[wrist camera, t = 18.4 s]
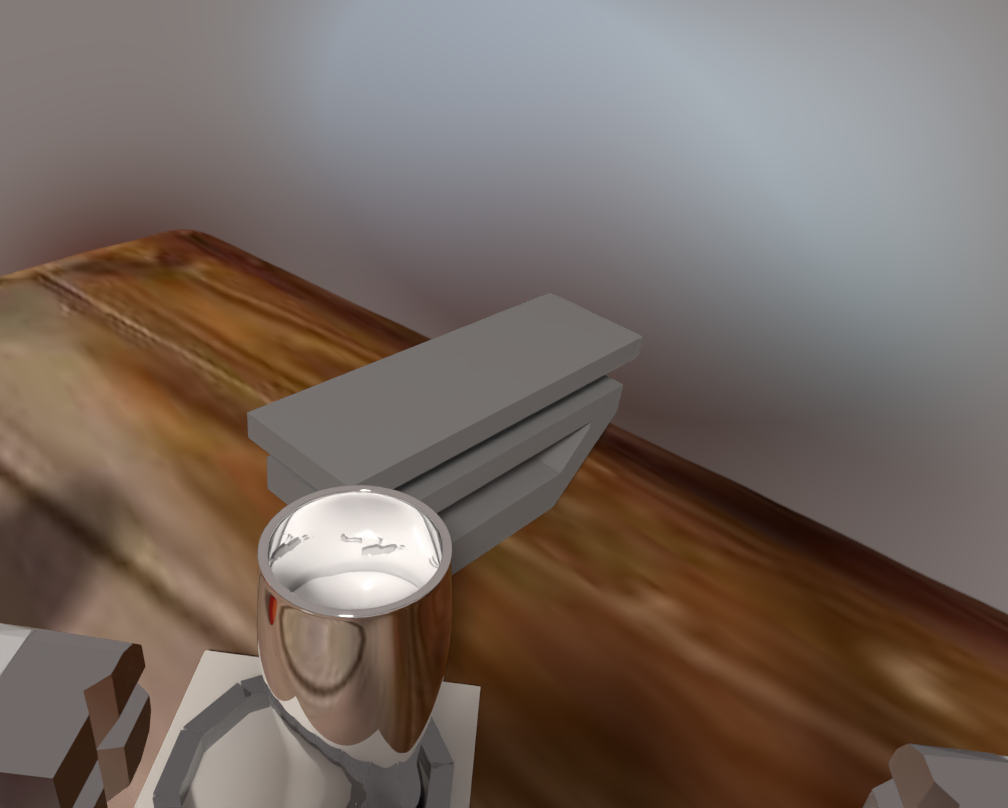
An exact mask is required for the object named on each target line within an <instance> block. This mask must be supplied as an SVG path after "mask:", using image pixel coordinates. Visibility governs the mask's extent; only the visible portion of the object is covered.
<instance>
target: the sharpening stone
mask: <svg viewBox="0 0 1008 808" xmlns="http://www.w3.org/2000/svg"><path fill="white" fill-rule="evenodd" d="M642 339H643V336H641V335H639V334H637V333H635V332H632V331H630V330H628V329H626V328H624V327H622V326H620V325H618V324H616V323H614V322H612V321H609V320H607V319H605V318H603V317H601V316H599V315H597V314H595V313H593V312H591V311H589V310H586V309H584V308H582V307H580V306H578V305H576V304H574V303H572V302H570V301H568V300H566V299H563V298H561V297H559V296H557V295H555V294H553V293H548V294H546V295H543V296H541V297H538V298H536V299H533V300H531V301H528V302H526V303H523V304H520V305H518V306H516V307H513V308H510V309H508V310H506V311H503V312H500V313H498V314H495V315H493V316H490V317H488V318H485V319H483V320H480V321H478V322H475V323H473V324H470V325H467V326H465V327H462V328H460V329H457V330H455V331H452V332H450V333H447V334H445V335H442V336H440V337H437V338H434V339H432V340H429V341H427V342H424V343H422V344H419V345H417V346H414V347H412V348H409V349H407V350H404V351H402V352H399V353H397V354H394V355H392V356H389V357H386V358H384V359H381V360H379V361H376V362H374V363H371V364H369V365H366V366H364V367H361V368H359V369H356V370H354V371H351V372H349V373H346V374H344V375H341V376H338V377H336V378H333V379H331V380H328V381H326V382H323V383H321V384H318V385H316V386H313V387H311V388H308V389H306V390H303V391H301V392H298V393H296V394H293V395H290V396H288V397H285V398H283V399H280V400H278V401H275V402H273V403H270V404H268V405H265V406H263V407H260V408H258V409H255V410H253V411H250V412H248V413H247V416H248V438H250V439H251V440H252V441H254V442H255V443H256V444H258V445H259V446H260V447H261V448H263V449H264V450H265V451H267V452H268V453H269V454H271V455H270V456H268V457H267V482H268V489H269V490H270V491H271V492H273V493H274V494H275V495H276V496H278V497H279V498H280V499H281V500H283V501H284V502H285V503H286V504H288V505H289V504H290V503H292V502H294V501H295V500H297V499H299V498H301V497H303V496H306V495H308V494H311V493H314V492H317V491H320V490H324V489H328V488H333V487H339V486H349V485H368V486H378V487H384V488H389V489H393V490H396V491H400V492H403V493H405V494H408V495H410V496H412V497H414V498H416V499H418V500H420V501H422V502H423V503H425V504H426V505H427V506H429V507H430V508H431V509H432V510H434V511H435V512H436V513H437V514H438V516H439V517H440V518H441V519H442V520H443V522H444V523H445V525H446V527H447V529H448V531H449V533H450V536H451V540H452V559H451V571H452V575H453V574H455V573H456V572H458V571H459V570H461V569H462V568H463V567H465V566H466V565H468V564H469V563H471V562H472V561H474V560H475V559H477V558H478V557H480V556H481V555H483V554H484V553H486V552H487V551H489V550H490V549H492V548H493V547H495V546H496V545H497V544H499V543H500V542H502V541H503V540H505V539H506V538H508V537H509V536H511V535H512V534H514V533H515V532H517V531H518V530H520V529H521V528H523V527H524V526H526V525H527V524H528V523H530V522H531V521H533V520H534V519H536V518H537V517H539V516H540V515H542V514H543V513H545V512H546V511H548V510H549V509H551V508H552V507H554V505H555V504H556V502H557V501H558V499H559V498H560V496H561V495H562V493H563V492H564V490H565V489H566V487H567V486H568V484H569V483H570V481H571V480H572V478H573V477H574V475H575V474H576V472H577V471H578V469H579V468H580V466H581V464H582V463H583V461H584V460H585V458H586V457H587V455H588V454H589V452H590V451H591V449H592V448H593V446H594V445H595V443H596V442H597V440H598V439H599V437H600V436H601V434H602V433H603V431H604V430H605V428H606V427H607V425H608V424H609V422H610V421H611V419H612V418H613V416H614V415H615V413H616V412H617V409H618V404H619V400H620V396H621V392H622V388H623V384H621V383H619V382H617V381H615V380H613V379H612V378H610V377H608V376H606V375H605V374H607V373H609V372H611V371H613V370H615V369H616V368H618V367H620V366H622V365H624V364H625V363H627V362H629V361H631V360H633V359H635V358H637V357H638V355H639V351H640V347H641V343H642Z"/></svg>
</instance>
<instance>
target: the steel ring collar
mask: <svg viewBox="0 0 1008 808" xmlns="http://www.w3.org/2000/svg"><path fill="white" fill-rule="evenodd" d="M240 682H241V685H240V684H238V683H236V684H235V685H234V686H232V687H231V688H230V689H229V690H228V691H226V692H225V693H224V694H223V695H221V696H220V697H219V698H218V699H217V700H215V701H214V702H213V703H212V704H210V705H209V706H208V707H207V708H205V709H204V710H203V711H202V712H201V713H199V714H198V715H197V716H196V717H194V718H193V719H192V720H191V721H190V722H188V723H187V724H186V725H185V726H183V730H181V731H180V733H179V735H178V737H177V740H176V742H175V744H174V747H173V749H172V751H171V753H170V756H169V758H168V760H167V763H166V765H165V767H164V769H163V772H162V774H161V776H160V779H159V781H158V783H157V785H156V788H155V790H154V792H153V797H152V799H153V805H154V808H182V806H183V803H184V801H185V798H186V796H187V793H188V791H189V788H190V786H191V783H192V781H193V778H194V776H195V773H196V771H197V768H198V766H199V763H200V761H201V758H202V756H203V753H204V752H205V751H206V750H208V749H209V748H210V747H211V746H212V745H213V744H215V743H216V742H217V741H218V740H219V739H220V738H221V737H223V736H224V735H225V734H226V733H227V732H228V731H230V730H231V729H232V728H233V727H234V726H235V725H237V724H238V723H239V722H240V721H241V720H242V719H243V718H245V717H246V716H247V715H248V714H249V713H251V712H254V711H258V710H261V709H264V708H268V707H270V704H269V700H268V696H267V693H266V689H265V685H264V682H263V678H262V675H260V676H256V677H253V678H249V679H245V680H242V681H240ZM419 760H420V763H421V765H422V767H423V769H424V771H425V774H426V776H427V778H428V780H429V788H428V795H427V802H426V808H450V799H451V790H452V782H453V773H454V765H453V764H454V761H453V759H452V757H451V755H450V753H449V751H448V749H447V747H446V745H445V743H444V741H443V739H442V737H441V735H440V733H439V731H438V728H437V726H436V724H435V722H434V720H433V718H432V716H431V719H430V722H429V724H428V727H427V730H426V732H425V735H424V738H423V741H422V744H421V747H420V752H419Z"/></svg>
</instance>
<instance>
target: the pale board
mask: <svg viewBox="0 0 1008 808" xmlns="http://www.w3.org/2000/svg"><path fill="white" fill-rule="evenodd" d="M260 675H262V673H261V666H260V659H259V657H253V656H245V655H237V654H230V653H222V652H215V651H207V650H205V652H204V654H203V656H202V658H201V660H200V663H199V665H198V667H197V669H196V671H195V674H194V676H193V678H192V680H191V683H190V685H189V687H188V689H187V691H186V694H185V696H184V698H183V700H182V702H181V705H180V707H179V709H178V711H177V714H176V716H175V718H174V720H173V722H172V725H171V727H170V729H169V731H168V734H167V736H166V738H165V740H164V742H163V745H162V747H161V749H160V751H159V753H158V756H157V758H156V760H155V762H154V765H153V767H152V769H151V771H150V773H149V776H148V778H147V780H146V782H145V784H144V787H143V789H142V791H141V793H140V796H139V798H138V800H137V802H136V804H135V807H134V808H154V805H153V799H152V797H153V792H154V790H155V788H156V785H157V783H158V781H159V779H160V776H161V774H162V772H163V769H164V767H165V765H166V763H167V760H168V758H169V756H170V753H171V751H172V749H173V747H174V744H175V742H176V740H177V737H178V735H179V733H180V731H181V730H183V726H185V725H186V724H187V723H188V722H190V721H191V720H192V719H193V718H194V717H196V716H197V715H198V714H199V713H201V712H202V711H203V710H204V709H205V708H207V707H208V706H209V705H210V704H212V703H213V702H214V701H215V700H217V699H218V698H219V697H220V696H221V695H223V694H224V693H225V692H226V691H228V690H229V689H230V688H231V687H232V686H234V685H235V684H236V683H238V684H240V685H241V682H240V681H242V680H245V679H249V678H253V677H256V676H260ZM479 698H480V686H473V685H465V684H457V683H450V682H442V685H441V689H440V693H439V696H438V699H437V702H436V705H435V708H434V710H433V713H432V718H433V720H434V722H435V724H436V726H437V728H438V731H439V733H440V735H441V737H442V739H443V741H444V743H445V745H446V747H447V749H448V751H449V753H450V755H451V757H452V759H453V761H454V764H453V765H454V773H453V782H452V790H451V799H450V808H469V804H470V794H471V783H472V772H473V762H474V751H475V740H476V730H477V719H478V708H479ZM419 763H420V760H419ZM420 768H421V772H422V776H423V781H424V788H425V806H424V808H426V802H427V795H428V788H429V780H428V778H427V776H426V774H425V771H424V769H423V767H422V765H421V763H420ZM288 773H289V757H288V754H287V751H286V748H285V745H284V742H283V739H282V737H281V734H280V732H279V729H278V726H277V723H276V721H275V718H274V715H273V712H272V709H271V707H268V708H264V709H261V710H258V711H254V712H251V713H249V714H248V715H247V716H246V717H245V718H243V719H242V720H241V721H240V722H239V723H238V724H237V725H235V726H234V727H233V728H232V729H231V730H230V731H228V732H227V733H226V734H225V735H224V736H223V737H221V738H220V739H219V740H218V741H217V742H216V743H215V744H213V745H212V746H211V747H210V748H209V749H208V750H206V751H205V752H204V753H203V756H202V758H201V761H200V763H199V766H198V768H197V771H196V773H195V776H194V778H193V781H192V783H191V786H190V788H189V791H188V793H187V796H186V798H185V801H184V803H183V806H182V808H282V802H283V795H284V789H285V785H286V781H287V777H288Z"/></svg>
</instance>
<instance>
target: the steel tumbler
mask: <svg viewBox="0 0 1008 808" xmlns="http://www.w3.org/2000/svg"><path fill="white" fill-rule="evenodd" d="M257 559H258V585H257V642H258V651H259V659H260V666H261V673H262V678H263V682H264V685H265V689H266V693H267V696H268V700H269V704H270V707H271V709H272V712H273V715H274V718H275V721H276V723H277V726H278V729H279V732H280V734H281V737H282V739H283V742H284V745H285V748H286V751H287V754H288V757H289V773H288V777H287V781H286V785H285V789H284V795H283V802H282V808H424V806H425V788H424V781H423V776H422V772H421V768H420V763H419V752H420V747H421V744H422V741H423V738H424V735H425V732H426V730H427V727H428V724H429V722H430V719H431V716H432V713H433V710H434V708H435V705H436V702H437V699H438V696H439V693H440V689H441V685H442V682H443V678H444V674H445V671H446V666H447V660H448V653H449V646H450V639H451V623H452V571H451V559H452V540H451V536H450V533H449V531H448V529H447V527H446V525H445V523H444V522H443V520H442V519H441V518H440V517H439V516H438V514H437V513H436V512H435V511H434V510H432V509H431V508H430V507H429V506H427V505H426V504H425V503H423V502H422V501H420V500H418V499H416V498H414V497H412V496H410V495H408V494H405V493H403V492H400V491H396V490H393V489H389V488H384V487H378V486H368V485H349V486H339V487H333V488H328V489H324V490H320V491H317V492H314V493H311V494H308V495H306V496H303V497H301V498H299V499H297V500H295V501H294V502H292V503H290V504H289V505H287V506H286V507H284V508H283V509H282V510H281V511H279V512H278V513H277V514H276V515H275V516H274V517H273V518H272V519H271V521H270V522H269V523H268V524H267V526H266V527H265V529H264V531H263V533H262V535H261V537H260V540H259V544H258V550H257Z"/></svg>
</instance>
